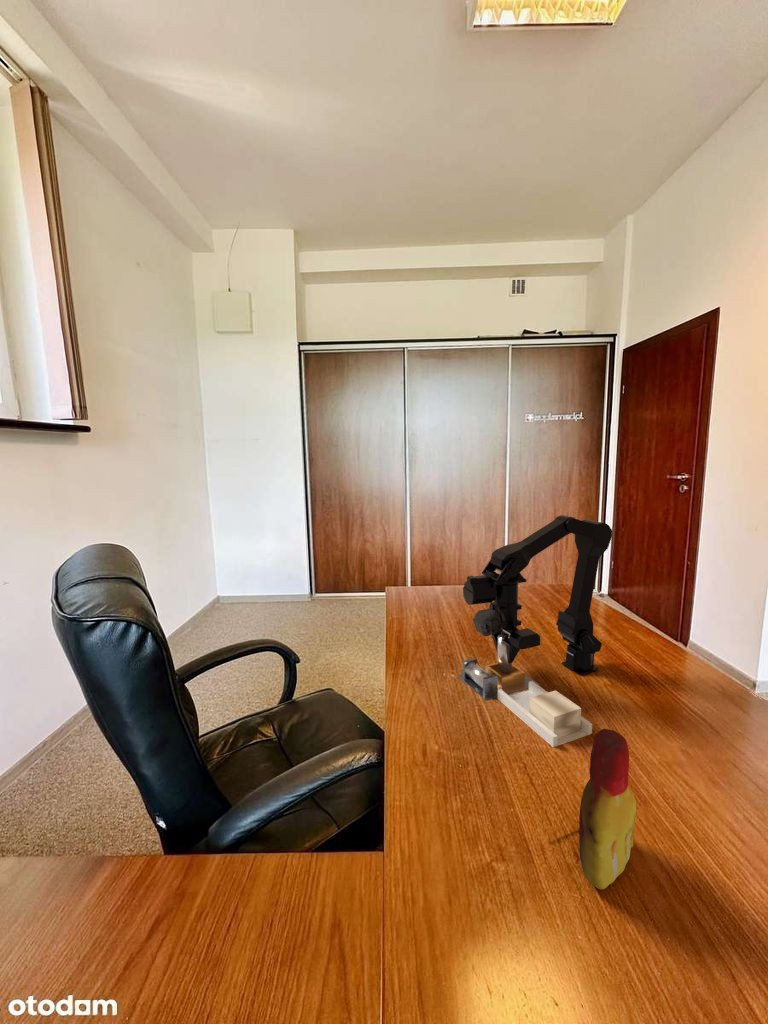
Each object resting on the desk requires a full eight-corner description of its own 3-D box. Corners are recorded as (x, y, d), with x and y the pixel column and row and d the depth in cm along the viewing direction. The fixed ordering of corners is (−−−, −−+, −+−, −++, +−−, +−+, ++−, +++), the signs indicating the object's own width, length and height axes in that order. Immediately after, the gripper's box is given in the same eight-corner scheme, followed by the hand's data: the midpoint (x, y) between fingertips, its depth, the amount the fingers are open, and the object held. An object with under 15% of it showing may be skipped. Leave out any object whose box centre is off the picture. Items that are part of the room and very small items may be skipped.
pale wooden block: (552, 709, 91) (553, 688, 90) (580, 730, 84) (581, 708, 83) (527, 717, 88) (527, 696, 87) (553, 740, 81) (554, 716, 80)
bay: (531, 690, 99) (532, 680, 99) (591, 735, 83) (592, 724, 82) (497, 700, 95) (497, 690, 95) (553, 749, 79) (553, 737, 79)
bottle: (614, 914, 51) (622, 768, 48) (562, 877, 55) (567, 742, 53) (641, 848, 59) (649, 721, 56) (594, 821, 64) (599, 702, 61)
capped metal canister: (506, 664, 106) (506, 629, 105) (515, 670, 102) (515, 634, 101) (494, 666, 105) (494, 631, 103) (503, 673, 101) (503, 637, 100)
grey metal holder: (508, 664, 112) (509, 647, 111) (540, 686, 101) (540, 668, 100) (458, 676, 106) (458, 659, 105) (485, 702, 95) (485, 682, 94)
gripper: (457, 593, 107) (458, 649, 109) (502, 618, 90) (501, 685, 92) (493, 587, 111) (493, 641, 113) (542, 610, 94) (541, 674, 96)
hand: (505, 659), depth 103 cm, fingers closed on capped metal canister, 4 cm apart
